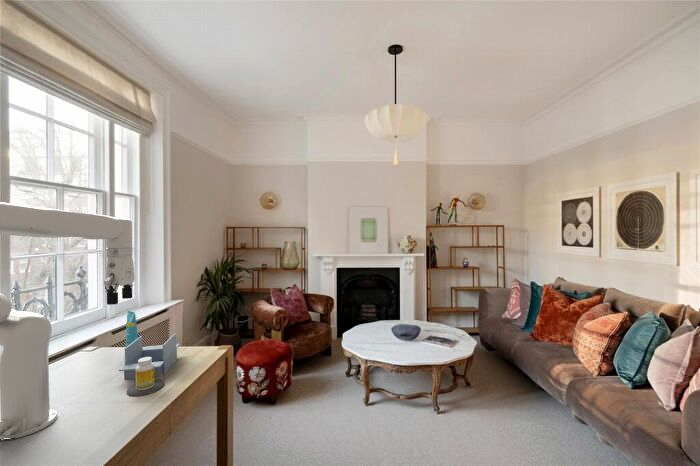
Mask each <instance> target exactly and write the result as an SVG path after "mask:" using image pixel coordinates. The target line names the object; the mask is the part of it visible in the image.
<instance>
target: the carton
mask: <svg viewBox="0 0 700 466" xmlns="http://www.w3.org/2000/svg"><path fill="white" fill-rule="evenodd" d="M179 347H180V343H177V333H176V332H175V333H173V334H172V335H171V336H170V337H169V338H168V339H167V340H166V341H165V342H164V343H163V344H160V345H158V344H157V345H150V346H149V345H147V346H144V347H143V335H140V336H139V337H138V338H137V339H136V340H135V341H134V342H132V343H131V344H130V345H128V346H127V347H126V346H125V348H124V364H123V366H121V368H119V369H118V372H123V374H124V375H123V376H124V380H126V379H127V380H128V379H136V367H137V366H138V360H139V359H141V358H144V357H152V361H153V362H151V363H153V364H154V377H156V376H164V375H166V373H167V372H168V371H169V370H170V368H171V367H172V366H171V365H174V363H175V362H176V361H177V360H178V348H179ZM160 360H163V361H160ZM175 360H176V361H175ZM174 361H175V362H174Z"/></svg>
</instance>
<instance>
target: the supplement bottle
mask: <svg viewBox="0 0 700 466" xmlns="http://www.w3.org/2000/svg"><path fill="white" fill-rule="evenodd" d="M151 362H152V357H144V358H141V359H139V360H138V366H137V367H136V378H135V384H136V389H137V390H146V389H149V388H151V387H153V386H154V384H155V380H154V379H155V376H154V364H153V363H151Z"/></svg>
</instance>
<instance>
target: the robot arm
mask: <svg viewBox="0 0 700 466" xmlns="http://www.w3.org/2000/svg"><path fill="white" fill-rule="evenodd" d="M0 235H1V236H3V235H4V236H17V237H18V236H19V237H29V238H30V237H32V238H33V237H34V238H49V239H50V238H51V239H55V238H57V239H58V238H59V239H60V238H82V239H85V240H105V243H106V244H105V247H106V248H105V249H106V250H105V251H106V252H105V253H106V255H105V256H106V259H107V261H106V267H105V268H106V273H105V279H104V281H103V285H104V289H105V293H106V305H109V306H111V305H117V304H119V291H118V289H119V286H121V298H122V299H123V300H124V299H133V286H134V285H133V283H134V282H135V266H134V260H133V222H132V220H131V218H126V217H125V218H123V217H121V218H119V217H118V218H116V217H114V216H110V215H109V216H108V215H102V214H96V213H88V212H78V211H70V210H69V211H67V210H62V209H55V208H54V209H53V208H45V207H40V206H39V207H38V206H32V205H31V206H30V205H24V204H16V203H7V202H1V201H0ZM51 336H52V324H51V322H50V320H49V318H47V317H46V316H45V315H43V314H41V313H37V312H31V311H24V310H23V311H21V310H16V309H13V305H12V302H11V299H9V297H7V296H6V295H5V294H4V293H2V292H0V346H1V347H2V348H3V349H2V354H1V355H0V356H1V357H0V439H4V438H15V439H19V437H20V438H23V437H26V436H29V435H32V434H34V433H37V432H39V431H41V430H43V429H45V428H47V427H48V426H50V425H52V423H54V422H55V421H56V419H57V418H58V411H57V410H55V409H52V408H51V407H50V373H49V372H50V369H49V368H50V367H49V350H50V349H49V348H50V343H51V342H50V341H51Z"/></svg>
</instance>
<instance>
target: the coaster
mask: <svg viewBox="0 0 700 466" xmlns="http://www.w3.org/2000/svg"><path fill="white" fill-rule="evenodd" d="M154 380H155V384H154V386H153V387H151V388H149V389H146V390H137V389H136V383H134V384H132V385H130V386H129V387H128V388H127V389H126V395H127V396H130V397H143V396H147V395H150V394H153V393H156V392H158V391H159V390H161V389H162V388H164V387H165V385H166V384H165V380H164V379H161V378H160V379H159V378H154Z"/></svg>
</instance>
